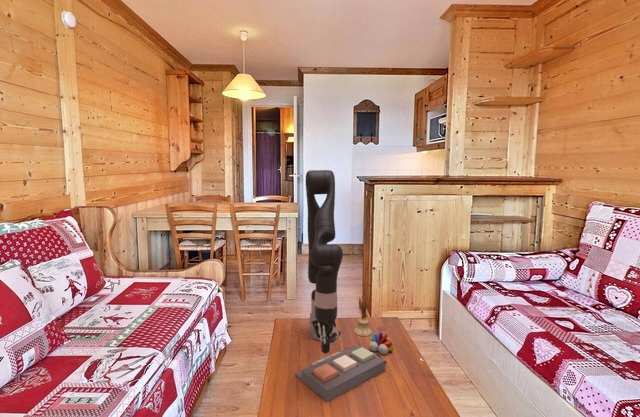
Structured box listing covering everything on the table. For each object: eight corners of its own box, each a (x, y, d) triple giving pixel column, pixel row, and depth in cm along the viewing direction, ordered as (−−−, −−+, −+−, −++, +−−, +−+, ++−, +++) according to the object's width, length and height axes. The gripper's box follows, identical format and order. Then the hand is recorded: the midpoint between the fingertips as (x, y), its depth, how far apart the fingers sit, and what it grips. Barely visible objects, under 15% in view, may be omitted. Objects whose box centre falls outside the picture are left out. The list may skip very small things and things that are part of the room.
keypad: (295, 375, 125) (295, 365, 125) (351, 350, 143) (351, 340, 142) (327, 402, 111) (327, 390, 111) (385, 370, 129) (385, 360, 128)
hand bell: (367, 326, 163) (368, 294, 161) (375, 335, 155) (376, 301, 153) (351, 328, 161) (351, 295, 159) (357, 337, 153) (358, 302, 151)
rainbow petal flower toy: (388, 357, 138) (388, 340, 137) (365, 350, 143) (366, 333, 142) (395, 348, 145) (396, 331, 144) (374, 341, 150) (374, 325, 149)
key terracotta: (313, 376, 120) (313, 369, 120) (326, 369, 124) (326, 363, 123) (324, 384, 115) (324, 377, 115) (337, 378, 119) (337, 371, 119)
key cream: (332, 366, 125) (332, 360, 125) (345, 361, 129) (345, 354, 129) (344, 374, 121) (344, 368, 121) (356, 368, 125) (356, 362, 124)
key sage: (350, 358, 131) (351, 352, 131) (362, 353, 135) (362, 347, 134) (362, 365, 126) (362, 359, 126) (373, 359, 130) (373, 353, 130)
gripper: (305, 299, 119) (305, 347, 121) (330, 312, 109) (329, 364, 111) (322, 295, 124) (321, 341, 126) (347, 306, 113) (346, 357, 115)
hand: (325, 352), depth 118 cm, fingers closed
